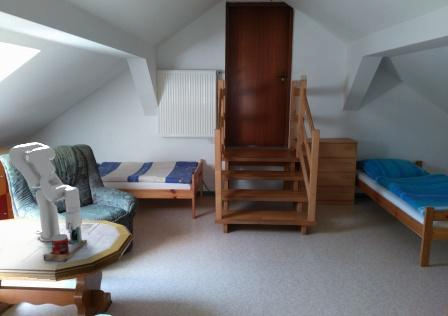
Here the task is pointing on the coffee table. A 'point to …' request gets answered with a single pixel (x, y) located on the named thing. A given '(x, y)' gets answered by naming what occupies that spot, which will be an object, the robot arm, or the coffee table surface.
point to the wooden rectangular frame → (65, 257)
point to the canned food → (60, 244)
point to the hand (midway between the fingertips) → (76, 238)
